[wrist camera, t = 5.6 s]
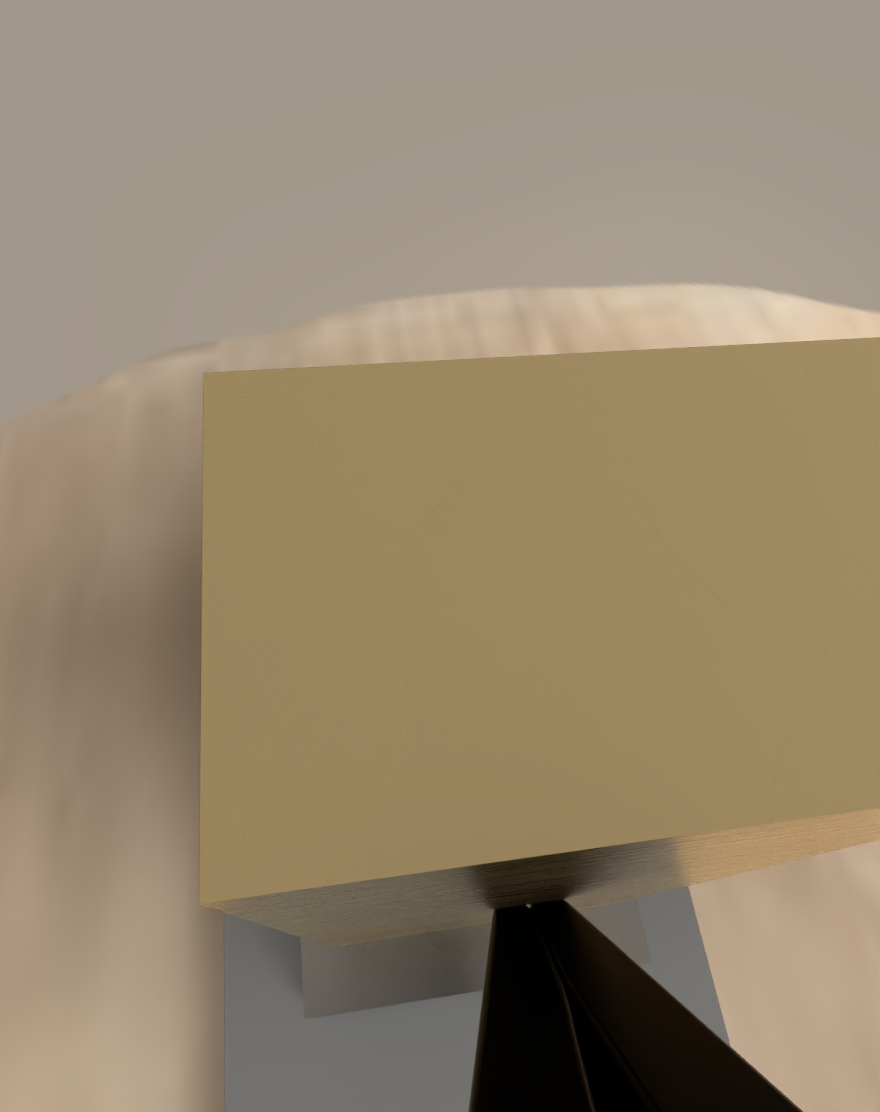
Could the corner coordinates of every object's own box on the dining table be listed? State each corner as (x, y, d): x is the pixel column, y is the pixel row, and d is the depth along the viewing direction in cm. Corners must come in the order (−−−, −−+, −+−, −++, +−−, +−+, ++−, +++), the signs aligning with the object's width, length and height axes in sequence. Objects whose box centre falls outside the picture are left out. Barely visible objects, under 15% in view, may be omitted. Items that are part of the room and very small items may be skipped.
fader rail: (835, 1582, 12) (997, 1800, 9) (246, 1749, 11) (195, 2068, 8) (564, 500, 21) (597, 420, 18) (231, 526, 20) (205, 445, 17)
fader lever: (635, 962, 14) (1405, 966, 4) (309, 1015, 13) (53, 1221, 3) (576, 702, 16) (939, 235, 6) (295, 734, 16) (128, 262, 5)
